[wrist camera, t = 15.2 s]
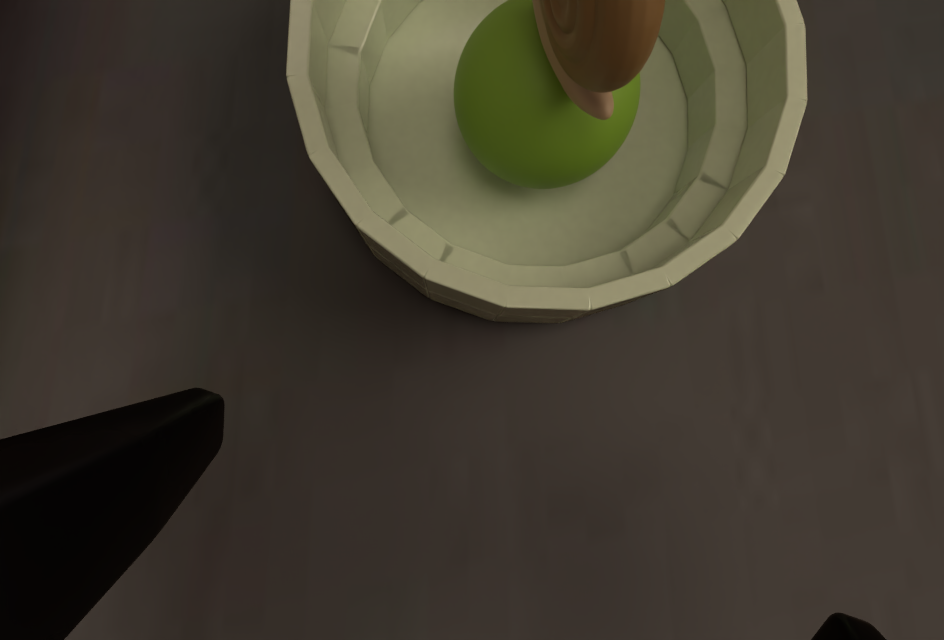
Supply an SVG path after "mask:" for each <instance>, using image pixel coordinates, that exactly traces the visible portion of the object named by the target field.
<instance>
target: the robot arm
mask: <svg viewBox="0 0 944 640" xmlns="http://www.w3.org/2000/svg"><path fill="white" fill-rule="evenodd" d="M223 429H224V400H223V398H222V397H221V396H220V395H219V394H216V393H213V392H210V391H207V390H205V389H202V388H192V389H188V390H184V391H181V392H177V393H173V394H169V395H166V396H162V397H158V398H154V399H151V400H147V401H143V402H139V403H136V404H132V405H128V406H124V407H121V408H117V409H113V410H109V411H106V412H102V413H98V414H94V415H91V416H87V417H83V418H79V419H76V420H72V421H68V422H64V423H61V424H57V425H53V426H49V427H46V428H42V429H38V430H34V431H31V432H27V433H23V434H19V435H16V436H12V437H8V438H4V439H1V440H0V640H64V639H65V638H66V637H67V636H68V635H69V634H70V632H71V631H72V630H73V629H74V628H75V627H76V626H77V625H78V623H79V622H80V621H81V620H82V619H83V618H84V617H85V616H86V615H87V613H88V612H89V611H90V610H91V609H92V608H93V607H94V606H95V605H96V603H97V602H98V601H99V600H100V599H101V598H102V597H103V596H104V595H105V593H106V592H107V591H108V590H109V589H110V588H111V587H112V586H113V585H114V583H115V582H116V581H117V580H118V579H119V578H120V577H121V576H122V575H123V573H124V572H125V571H126V570H127V569H128V568H129V567H130V566H131V565H132V563H133V562H134V561H135V560H136V559H137V558H138V557H139V556H140V554H141V553H142V552H143V551H144V550H145V549H146V548H147V546H148V545H149V544H150V543H151V542H152V541H153V539H154V538H155V537H156V536H157V534H158V533H159V532H160V531H161V529H162V528H163V527H164V525H165V524H166V523H167V521H168V520H169V519H170V517H171V516H172V515H173V513H174V512H175V511H176V509H177V508H178V506H179V505H180V504H181V502H182V501H183V500H184V498H185V497H186V496H187V494H188V493H189V491H190V490H191V489H192V487H193V486H194V485H195V483H196V482H197V481H198V479H199V478H200V476H201V475H202V474H203V472H204V471H205V470H206V468H207V467H208V466H209V464H210V463H211V461H212V460H213V459H214V457H215V456H216V455H217V453H218V451H219V449H220V447H221V445H222V441H223ZM811 640H886V639H885V638H884V637H883V636H882V635H881V634H880V632H879V631H878V630H877V629H876V628H875V627H874V626H872V625H871V624H870V623H868V622H866V621H863V620H860V619H858V618H855V617H852V616H849V615H846V614H843V613H834V614H832V615H830V616H829V617H828V619H827V620H826V621H825V622H824V624H823V625H822V626H821V628H820V629H819V630H818V631H817V633H816V634H815V635H814V637H813V638H812V639H811Z"/></svg>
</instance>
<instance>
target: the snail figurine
mask: <svg viewBox="0 0 944 640" xmlns="http://www.w3.org/2000/svg"><path fill="white" fill-rule="evenodd" d="M664 6H665V0H508V1H506V2H504V3H503V4H501V5H500V6H498V7H497V8H495V9H494V10H493V11H492V12H491V13H489V14H488V15H487V16H486V17H485V18H484V19H483V20H482V21H481V22H480V24H479V25H478V26H477V27H476V29H475V30H474V31H473V33H472V34H471V36H470V37H469V39H468V41H467V43H466V45H465V47H464V49H463V51H462V53H461V56H460V59H459V62H458V65H457V69H456V74H455V80H454V108H455V114H456V119H457V123H458V126H459V129H460V131H461V134H462V136H463V138H464V140H465V142H466V144H467V146H468V147H469V149H470V150H471V152H472V153H473V155H474V156H475V157H476V158H477V159H478V161H479V162H480V163H481V164H482V165H483V166H484V167H486V168H487V169H488V170H489V171H490V172H492V173H493V174H495V175H496V176H498V177H499V178H501V179H503V180H505V181H507V182H510V183H512V184H515V185H518V186H522V187H526V188H533V189H552V188H559V187H563V186H567V185H570V184H573V183H576V182H578V181H581V180H583V179H585V178H587V177H588V176H590V175H592V174H593V173H595V172H596V171H597V170H599V169H600V168H601V167H603V166H604V165H605V164H606V163H607V162H608V161H609V160H610V159H611V158H612V157H613V156H614V155H615V153H616V152H617V151H618V150H619V148H620V147H621V145H622V144H623V143H624V141H625V139H626V137H627V136H628V134H629V132H630V130H631V127H632V125H633V123H634V120H635V117H636V113H637V109H638V105H639V99H640V84H641V83H640V71H641V70H642V68H643V67H644V65H645V63H646V62H647V60H648V58H649V57H650V55H651V53H652V50H653V48H654V45H655V43H656V40H657V37H658V34H659V30H660V26H661V22H662V18H663V13H664Z"/></svg>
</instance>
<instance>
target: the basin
mask: <svg viewBox="0 0 944 640" xmlns="http://www.w3.org/2000/svg"><path fill="white" fill-rule="evenodd" d="M506 1H508V0H290V16H289V32H288V49H287V66H286V77H287V83H288V87H289V90H290V94H291V97H292V101H293V104H294V108H295V112H296V115H297V119H298V122H299V126H300V130H301V133H302V137H303V140H304V144H305V147H306V151H307V154H308V156H309V159H310V160H311V162H312V163H313V165H314V166H315V168H316V169H317V171H318V173H319V174H320V176H321V177H322V179H323V180H324V182H325V183H326V185H327V186H328V188H329V189H330V191H331V192H332V194H333V195H334V197H335V199H336V200H337V202H338V203H339V205H340V206H341V208H342V209H343V210H344V212H345V213H346V215H347V216H348V218H349V219H350V221H351V222H352V224H353V225H354V227H355V228H356V230H357V231H358V233H359V234H360V235H361V237H362V238H363V240H364V241H365V243H366V244H367V246H368V247H369V249H370V250H371V252H372V253H373V255H374V256H375V257H377V259H378V260H379V261H381V262H382V263H383V264H385V265H386V266H387V267H389V268H390V269H391V270H392V271H394V272H395V273H396V274H398V275H399V276H400V277H402V278H403V279H404V280H405V281H407V282H408V283H409V284H411V285H412V286H413V287H415V288H416V289H417V290H418V291H420V292H421V293H422V294H424V295H425V296H426V297H429V298H430V299H431V300H434V301H437V302H440V303H442V304H445V305H448V306H451V307H453V308H456V309H459V310H462V311H465V312H467V313H470V314H473V315H476V316H479V317H481V318H484V319H487V320H490V321H493V320H494V321H496V322H527V323H564V322H567V321H571V320H574V319H577V318H581V317H584V316H588V315H591V314H594V313H598V312H601V311H605V310H608V309H611V308H615V307H618V306H622V305H624V304H627V303H630V302H632V301H635V300H638V299H640V298H643V297H645V296H648V295H651V294H653V293H656V292H659V291H661V290H664V289H667V288H669V287H671V286H673V285H675V284H676V283H677V282H679V281H680V280H682V279H683V278H685V277H686V276H687V275H689V274H690V273H692V272H693V271H695V270H696V269H697V268H699V267H700V266H702V265H703V264H705V263H706V262H707V261H709V260H710V259H712V258H713V257H715V256H716V255H718V254H719V253H720V252H722V251H723V250H725V249H726V248H728V247H729V246H730V245H732V244H733V243H735V242H736V240H737V239H739V238H740V236H741V235H742V234H743V232H744V231H745V229H746V228H747V227H748V225H749V224H750V223H751V221H752V220H753V218H754V217H755V216H756V214H757V213H758V212H759V210H760V209H761V208H762V206H763V205H764V203H765V202H766V201H767V199H768V198H769V197H770V195H771V194H772V192H773V191H774V190H775V188H776V187H777V186H778V184H779V183H780V181H781V180H782V179H783V176H784V175H785V173H786V170H787V166H788V163H789V160H790V157H791V153H792V150H793V147H794V144H795V140H796V137H797V134H798V131H799V127H800V124H801V121H802V118H803V114H804V111H805V108H806V104H807V102H806V101H807V72H806V36H805V25H804V20H803V17H802V14H801V11H800V9H799V6H798V3H797V0H665V6H664V13H663V18H662V22H661V26H660V30H659V34H658V37H657V40H656V43H655V45H654V48H653V50H652V53H651V55H650V57H649V58H648V60H647V62H646V63H645V65H644V67H643V68H642V70H641V71H640V83H641V84H640V99H639V105H638V109H637V113H636V117H635V120H634V123H633V125H632V127H631V130H630V132H629V134H628V136H627V137H626V139H625V141H624V143H623V144H622V145H621V147H620V148H619V150H618V151H617V152H616V153H615V155H614V156H613V157H612V158H611V159H610V160H609V161H608V162H607V163H606V164H605V165H604V166H603V167H601V168H600V169H599V170H597V171H596V172H595V173H593V174H592V175H590V176H588V177H587V178H585V179H583V180H581V181H578V182H576V183H573V184H570V185H567V186H563V187H559V188H552V189H533V188H526V187H522V186H518V185H515V184H512V183H510V182H507V181H505V180H503V179H501V178H499V177H498V176H496V175H495V174H493V173H492V172H490V171H489V170H488V169H487V168H486V167H484V166H483V165H482V164H481V163H480V162H479V161H478V159H477V158H476V157H475V156H474V155H473V153H472V152H471V150H470V149H469V147H468V146H467V144H466V142H465V140H464V138H463V136H462V134H461V131H460V129H459V126H458V123H457V119H456V114H455V108H454V80H455V74H456V69H457V65H458V62H459V59H460V56H461V53H462V51H463V49H464V47H465V45H466V43H467V41H468V39H469V37H470V36H471V34H472V33H473V31H474V30H475V29H476V27H477V26H478V25H479V24H480V22H481V21H482V20H483V19H484V18H485V17H486V16H487V15H488V14H489V13H491V12H492V11H493V10H494V9H495V8H497V7H498V6H500V5H501V4H503V3H504V2H506Z"/></svg>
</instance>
